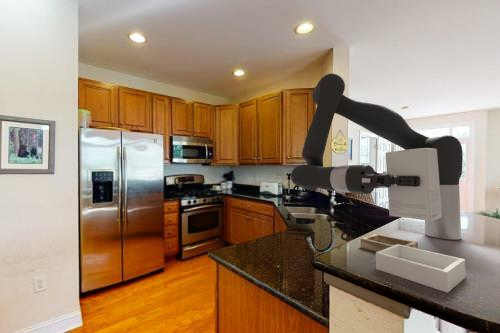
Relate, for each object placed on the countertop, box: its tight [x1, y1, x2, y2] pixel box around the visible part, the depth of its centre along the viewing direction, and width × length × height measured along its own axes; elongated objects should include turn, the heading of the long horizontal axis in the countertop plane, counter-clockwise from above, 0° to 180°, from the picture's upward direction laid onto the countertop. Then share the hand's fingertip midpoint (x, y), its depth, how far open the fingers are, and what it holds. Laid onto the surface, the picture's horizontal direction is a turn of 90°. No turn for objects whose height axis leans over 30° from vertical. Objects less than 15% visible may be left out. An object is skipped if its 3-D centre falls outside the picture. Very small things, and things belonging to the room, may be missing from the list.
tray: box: [375, 244, 467, 294], centre depth 49 cm, size 11×13×4 cm
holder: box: [359, 233, 419, 253], centre depth 64 cm, size 9×11×2 cm
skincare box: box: [385, 148, 442, 221], centre depth 50 cm, size 8×6×15 cm
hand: (425, 180), depth 48 cm, fingers closed on skincare box, 6 cm apart
